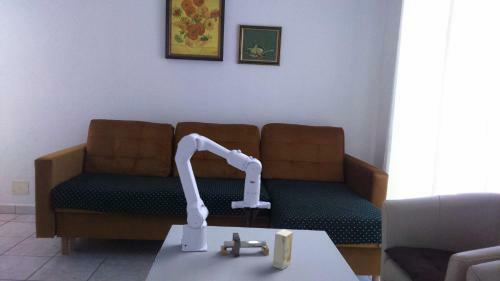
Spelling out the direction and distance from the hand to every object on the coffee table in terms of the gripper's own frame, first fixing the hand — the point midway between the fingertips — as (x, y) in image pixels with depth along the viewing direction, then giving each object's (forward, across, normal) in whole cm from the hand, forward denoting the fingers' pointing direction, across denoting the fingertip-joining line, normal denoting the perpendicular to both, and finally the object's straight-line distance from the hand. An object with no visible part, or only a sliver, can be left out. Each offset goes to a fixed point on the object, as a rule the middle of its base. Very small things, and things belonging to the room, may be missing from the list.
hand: (249, 226), depth 133 cm
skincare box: (+10, +11, -11) cm, 18 cm away
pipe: (+10, -2, -1) cm, 10 cm away
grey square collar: (+10, -5, -1) cm, 12 cm away
